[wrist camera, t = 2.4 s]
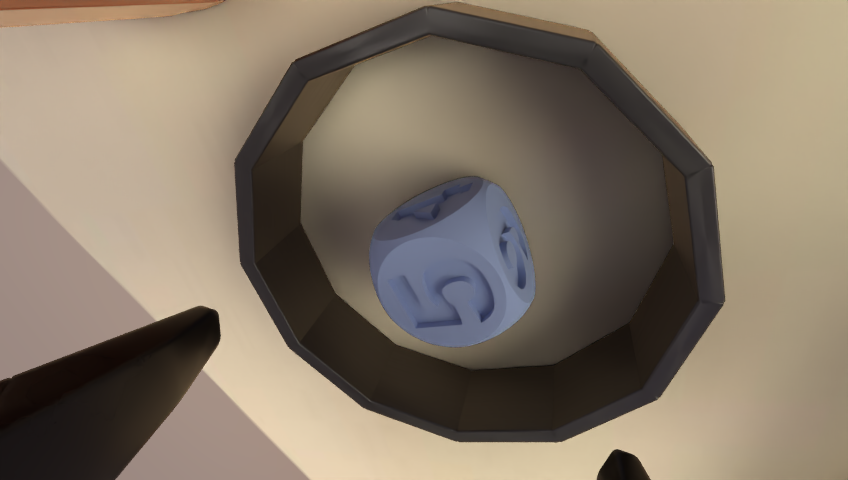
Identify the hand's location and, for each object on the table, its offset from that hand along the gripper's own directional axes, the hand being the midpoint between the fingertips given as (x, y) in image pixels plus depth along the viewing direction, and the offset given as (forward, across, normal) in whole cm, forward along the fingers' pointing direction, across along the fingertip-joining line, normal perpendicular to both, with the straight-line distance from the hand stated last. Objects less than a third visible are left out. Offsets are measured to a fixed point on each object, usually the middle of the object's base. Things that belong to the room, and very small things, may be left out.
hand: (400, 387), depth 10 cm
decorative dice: (+8, 0, 0) cm, 8 cm away
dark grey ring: (+8, 0, 0) cm, 8 cm away
